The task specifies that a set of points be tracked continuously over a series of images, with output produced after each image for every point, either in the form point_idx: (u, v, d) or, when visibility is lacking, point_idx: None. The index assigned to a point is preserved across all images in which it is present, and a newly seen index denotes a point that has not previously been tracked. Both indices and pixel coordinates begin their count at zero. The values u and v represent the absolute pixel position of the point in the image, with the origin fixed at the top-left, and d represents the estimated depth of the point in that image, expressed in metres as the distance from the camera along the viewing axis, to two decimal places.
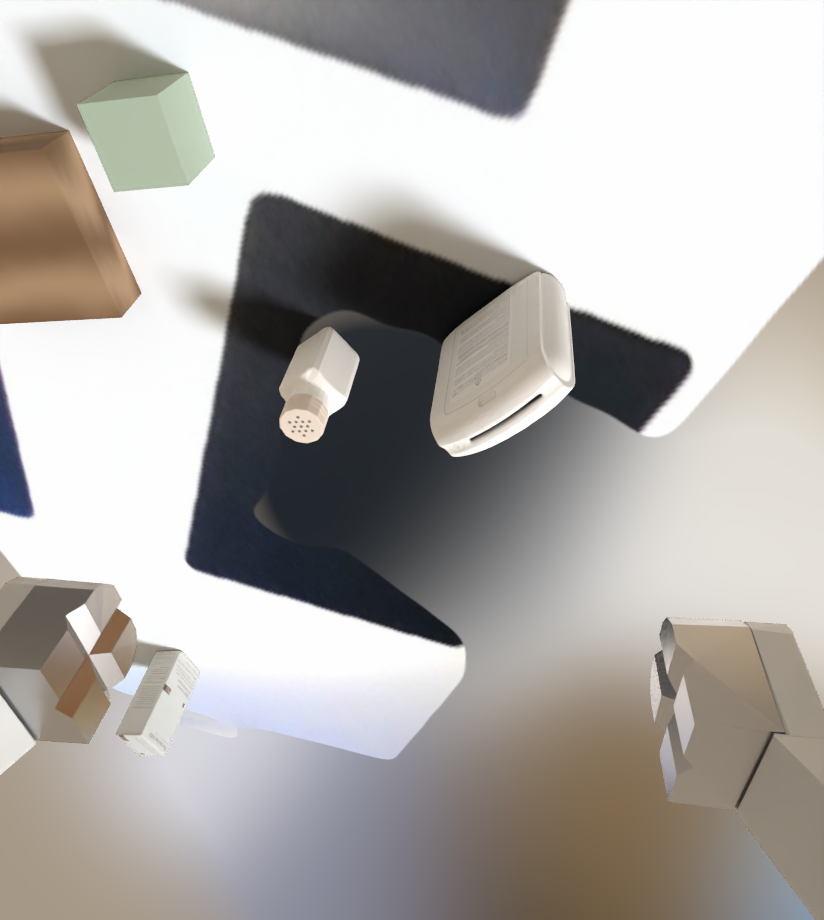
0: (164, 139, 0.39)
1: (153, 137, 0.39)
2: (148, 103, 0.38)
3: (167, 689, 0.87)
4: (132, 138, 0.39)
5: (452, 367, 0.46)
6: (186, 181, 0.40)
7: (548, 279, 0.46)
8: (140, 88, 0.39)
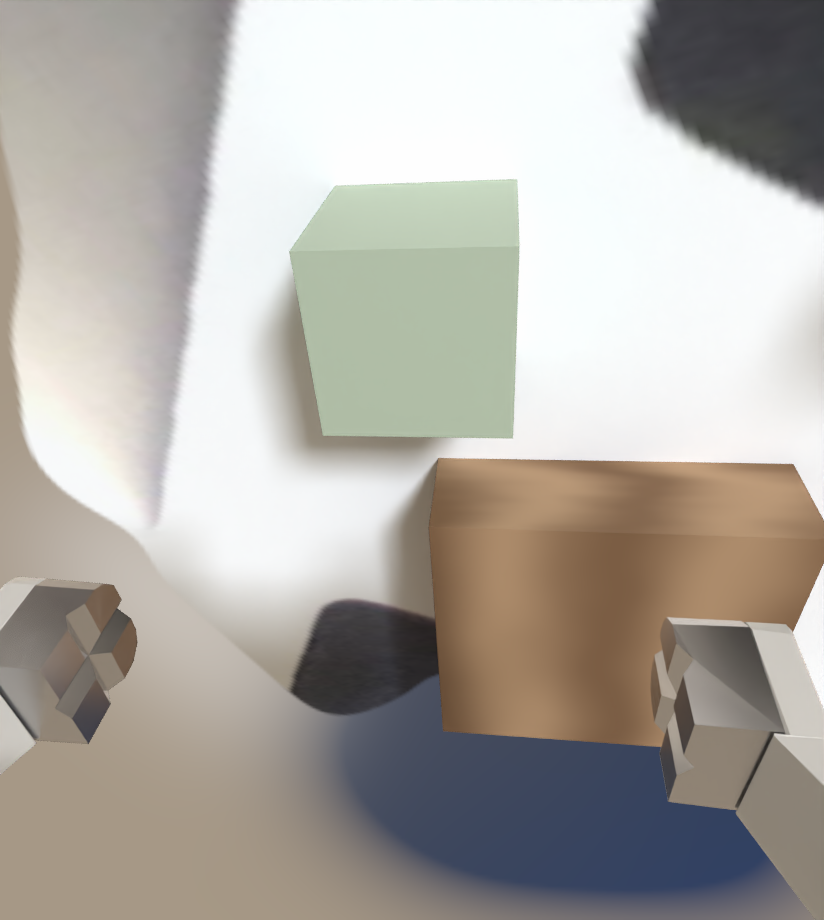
0: (395, 269, 0.15)
1: (390, 297, 0.15)
2: (311, 279, 0.15)
3: None
4: (391, 349, 0.16)
5: None
6: (508, 247, 0.14)
7: None
8: None
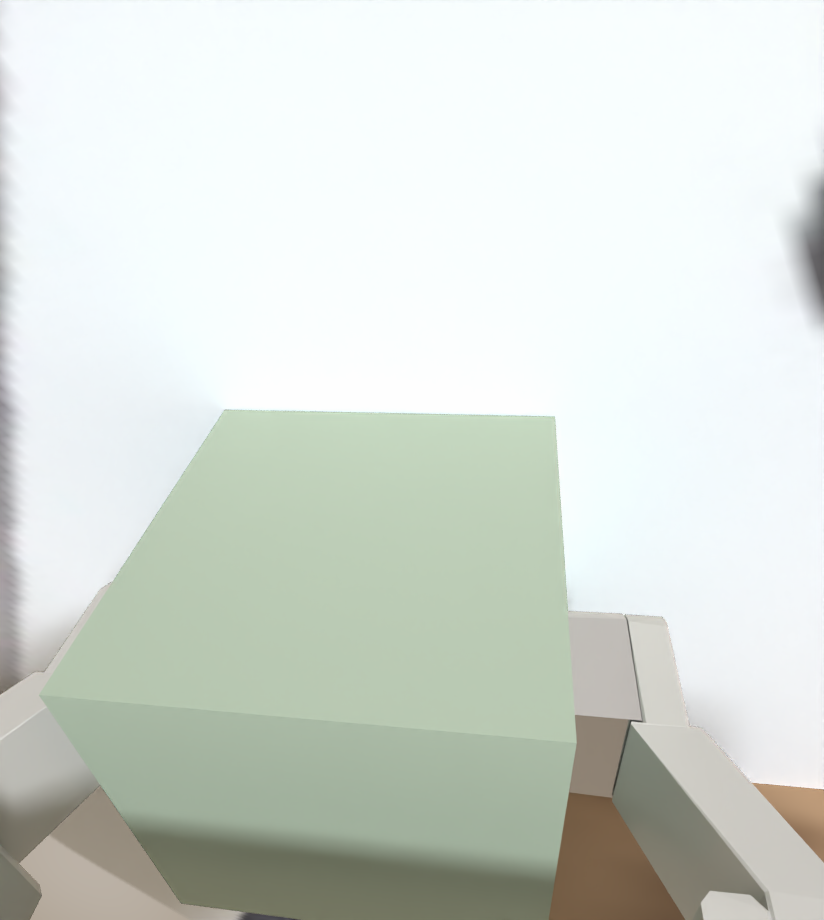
0: (282, 743, 0.06)
1: (277, 776, 0.07)
2: (100, 736, 0.07)
3: None
4: (292, 836, 0.07)
5: None
6: (550, 740, 0.06)
7: None
8: None
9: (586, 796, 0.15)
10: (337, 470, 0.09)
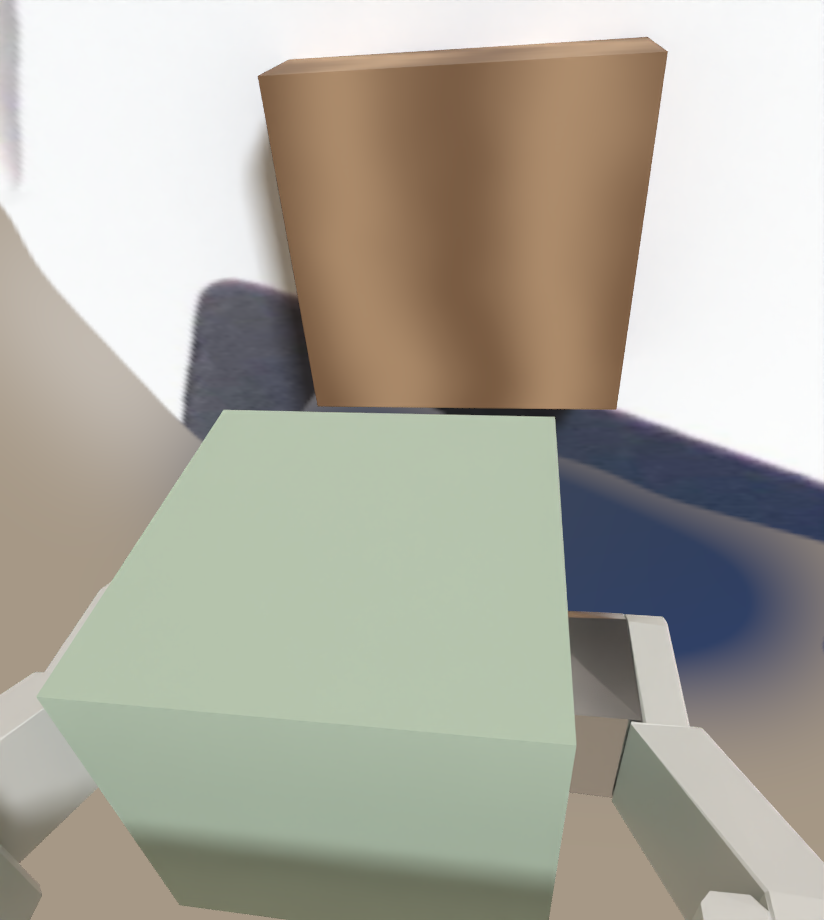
0: (279, 745, 0.06)
1: (276, 778, 0.07)
2: (98, 738, 0.07)
3: None
4: (291, 837, 0.07)
5: None
6: (549, 743, 0.06)
7: None
8: None
9: (394, 56, 0.22)
10: (336, 470, 0.09)
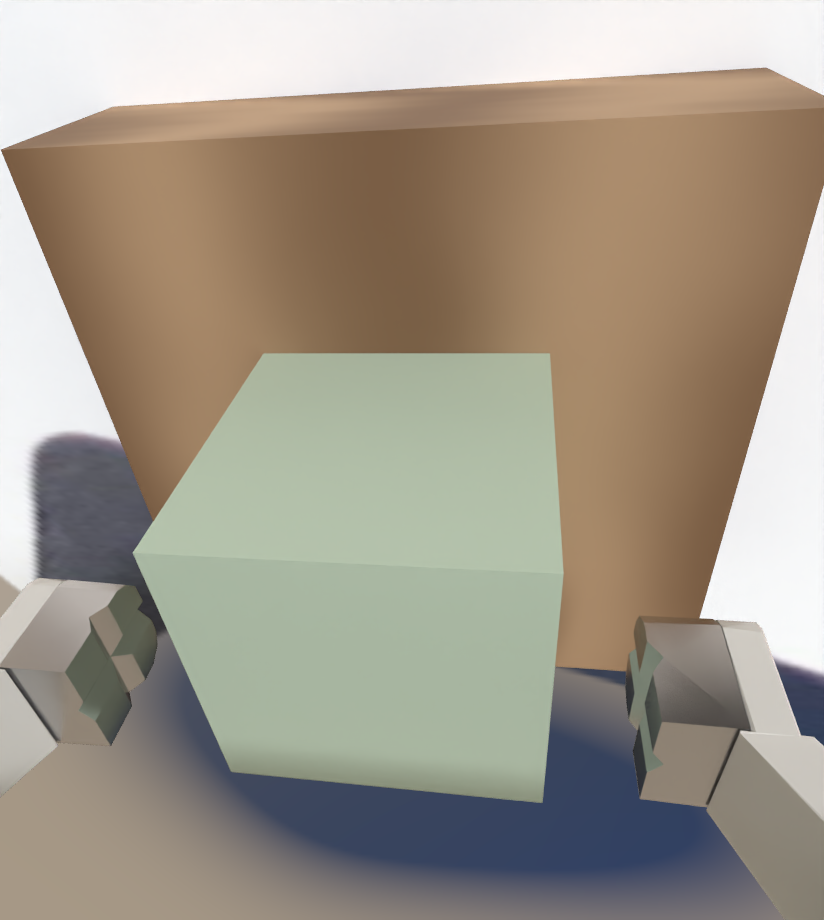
0: (328, 590, 0.08)
1: (323, 624, 0.08)
2: (179, 591, 0.08)
3: None
4: (332, 687, 0.09)
5: None
6: (542, 573, 0.07)
7: None
8: None
9: (291, 102, 0.12)
10: (364, 396, 0.10)
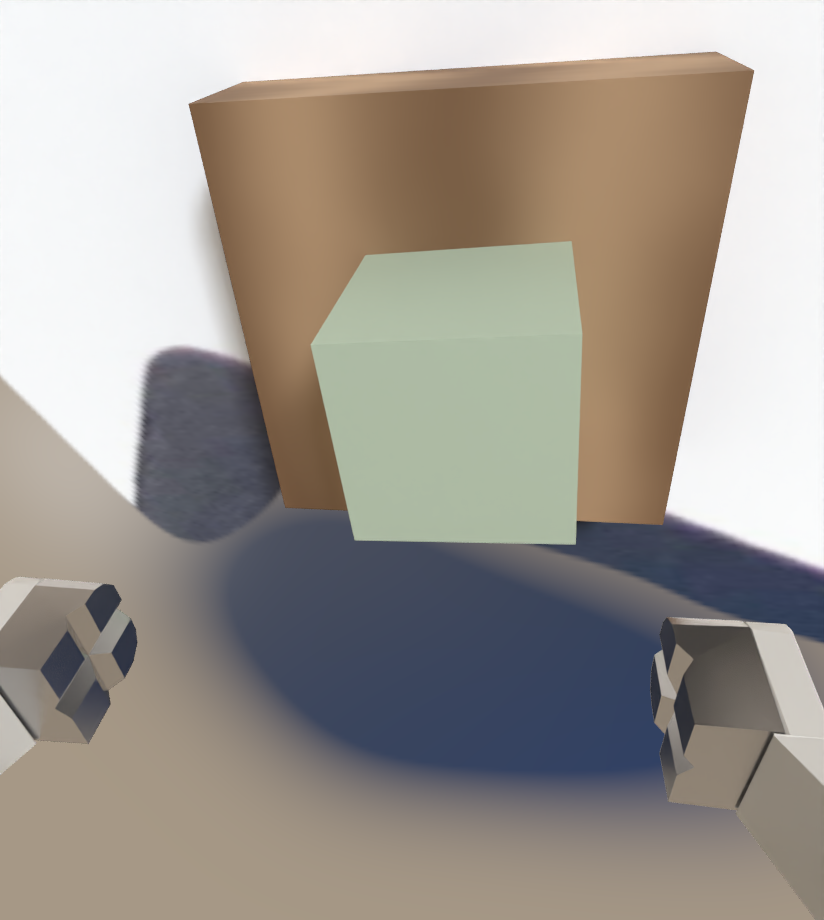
0: (434, 362, 0.12)
1: (429, 392, 0.13)
2: (336, 374, 0.13)
3: None
4: (431, 448, 0.14)
5: None
6: (569, 335, 0.12)
7: None
8: None
9: None
10: (442, 270, 0.15)
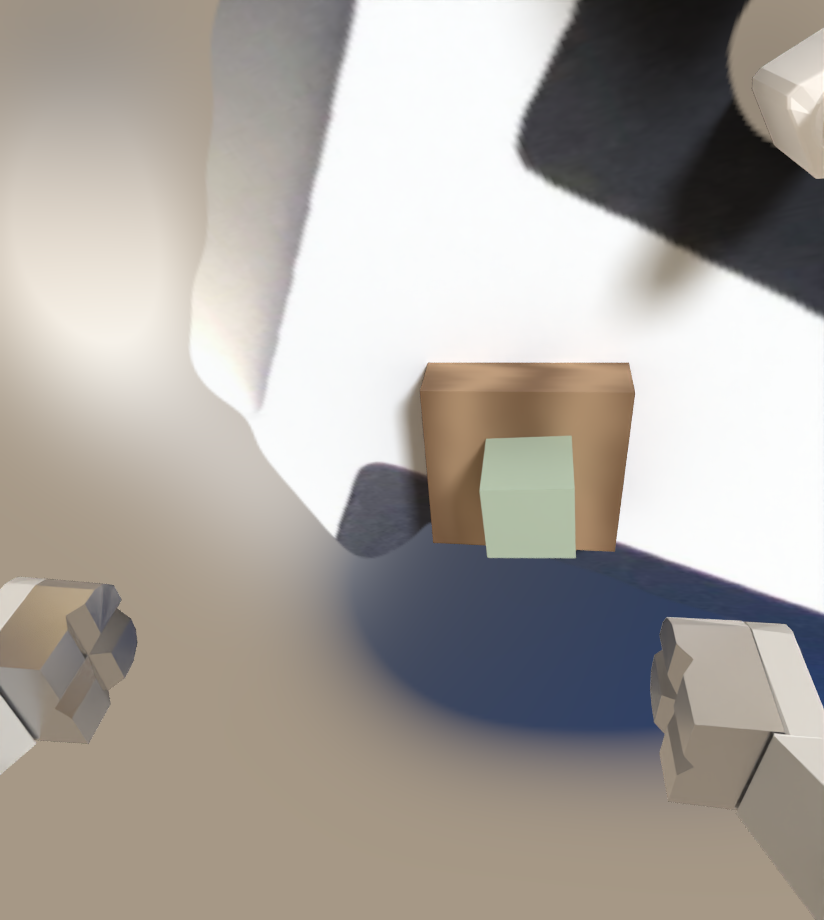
0: (523, 496, 0.36)
1: (520, 505, 0.36)
2: (487, 500, 0.36)
3: None
4: (520, 524, 0.37)
5: None
6: (570, 489, 0.35)
7: None
8: None
9: (488, 367, 0.40)
10: (520, 451, 0.38)
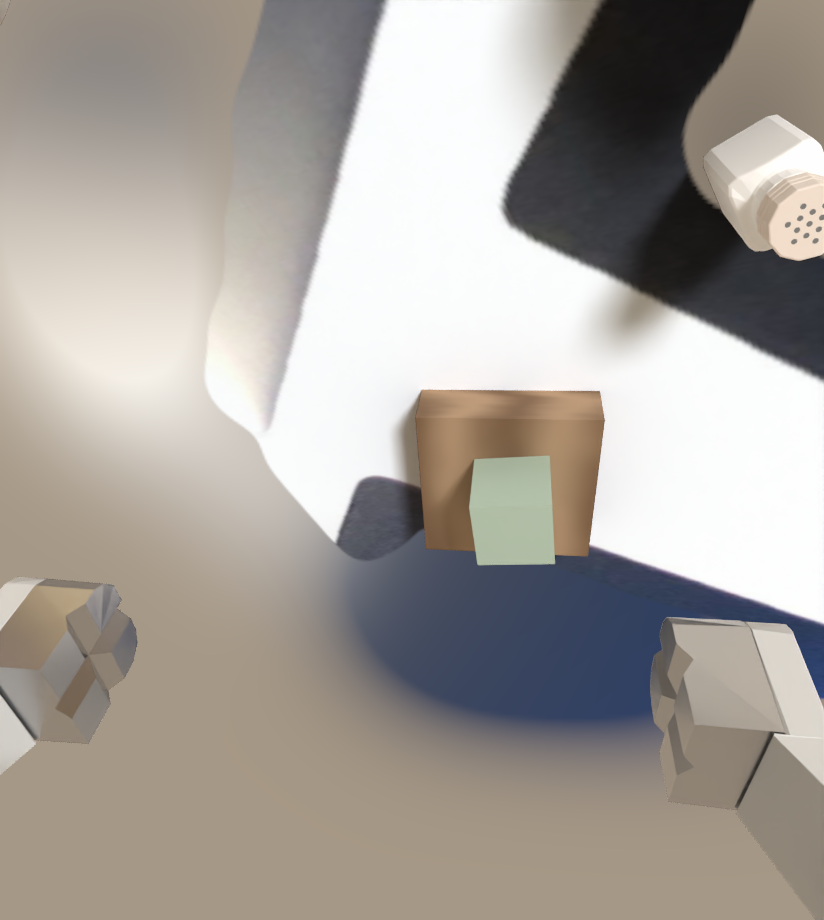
0: (507, 512, 0.41)
1: (505, 520, 0.41)
2: (476, 515, 0.41)
3: None
4: (506, 535, 0.42)
5: None
6: (548, 505, 0.40)
7: None
8: None
9: (476, 394, 0.45)
10: (505, 470, 0.43)
